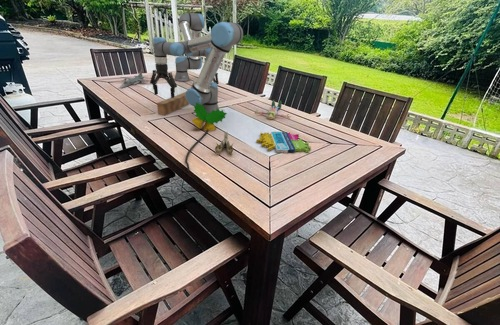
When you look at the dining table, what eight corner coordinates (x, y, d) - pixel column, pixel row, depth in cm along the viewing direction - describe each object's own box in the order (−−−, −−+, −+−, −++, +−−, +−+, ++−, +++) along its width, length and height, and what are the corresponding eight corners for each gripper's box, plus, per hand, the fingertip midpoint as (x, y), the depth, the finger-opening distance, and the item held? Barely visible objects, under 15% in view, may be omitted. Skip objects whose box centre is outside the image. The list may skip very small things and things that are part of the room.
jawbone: (234, 135, 144) (233, 125, 135) (233, 160, 138) (232, 151, 129) (217, 135, 144) (216, 125, 135) (216, 160, 138) (214, 150, 129)
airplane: (115, 80, 258) (112, 69, 253) (148, 78, 271) (147, 68, 266) (118, 90, 229) (115, 78, 224) (155, 87, 243) (153, 76, 238)
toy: (294, 102, 205) (291, 112, 179) (293, 111, 208) (289, 122, 182) (260, 97, 210) (251, 107, 184) (259, 106, 213) (250, 117, 187)
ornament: (218, 133, 171) (224, 110, 169) (221, 134, 163) (227, 111, 161) (186, 125, 162) (192, 101, 160) (189, 126, 155) (195, 101, 153)
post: (164, 115, 180) (163, 104, 176) (158, 114, 182) (157, 103, 178) (215, 91, 244) (215, 83, 240) (210, 90, 246) (210, 82, 242)
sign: (313, 150, 142) (258, 149, 139) (312, 153, 143) (258, 152, 140) (301, 132, 164) (254, 130, 161) (301, 134, 165) (254, 133, 162)
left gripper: (222, 66, 229) (222, 92, 240) (201, 63, 235) (202, 88, 246) (219, 67, 223) (218, 93, 234) (197, 64, 229) (198, 90, 240)
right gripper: (181, 65, 169) (183, 97, 180) (149, 60, 176) (153, 92, 187) (174, 66, 163) (176, 100, 173) (141, 61, 170) (146, 94, 181)
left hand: (210, 91), depth 240 cm, fingers open, 8 cm apart
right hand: (164, 96), depth 180 cm, fingers open, 13 cm apart
